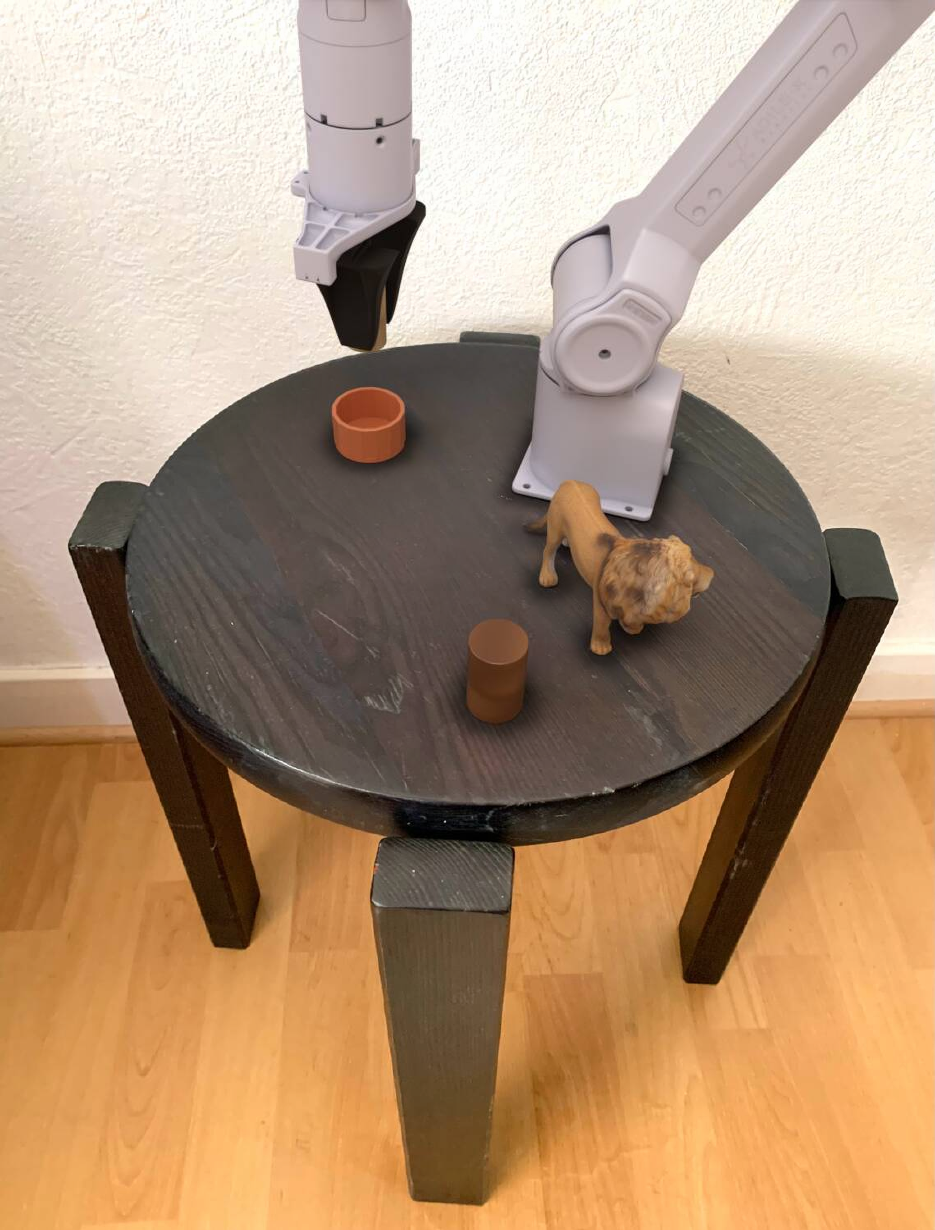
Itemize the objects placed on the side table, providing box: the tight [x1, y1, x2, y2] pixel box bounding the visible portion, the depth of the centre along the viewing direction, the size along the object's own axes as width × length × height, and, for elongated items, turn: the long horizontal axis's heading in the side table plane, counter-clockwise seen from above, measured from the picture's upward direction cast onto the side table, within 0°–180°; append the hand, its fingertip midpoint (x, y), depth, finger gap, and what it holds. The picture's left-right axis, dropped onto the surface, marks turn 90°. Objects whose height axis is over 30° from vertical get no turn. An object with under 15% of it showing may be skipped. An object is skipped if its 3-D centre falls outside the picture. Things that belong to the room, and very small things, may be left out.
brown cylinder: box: [465, 618, 530, 725], centre depth 57 cm, size 3×3×5 cm
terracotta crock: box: [331, 386, 407, 464], centre depth 73 cm, size 5×5×3 cm
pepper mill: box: [348, 287, 388, 354], centre depth 64 cm, size 3×3×5 cm
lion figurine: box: [522, 479, 715, 656], centre depth 61 cm, size 15×5×9 cm, turn 33°
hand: (366, 331), depth 65 cm, fingers closed on pepper mill, 2 cm apart
